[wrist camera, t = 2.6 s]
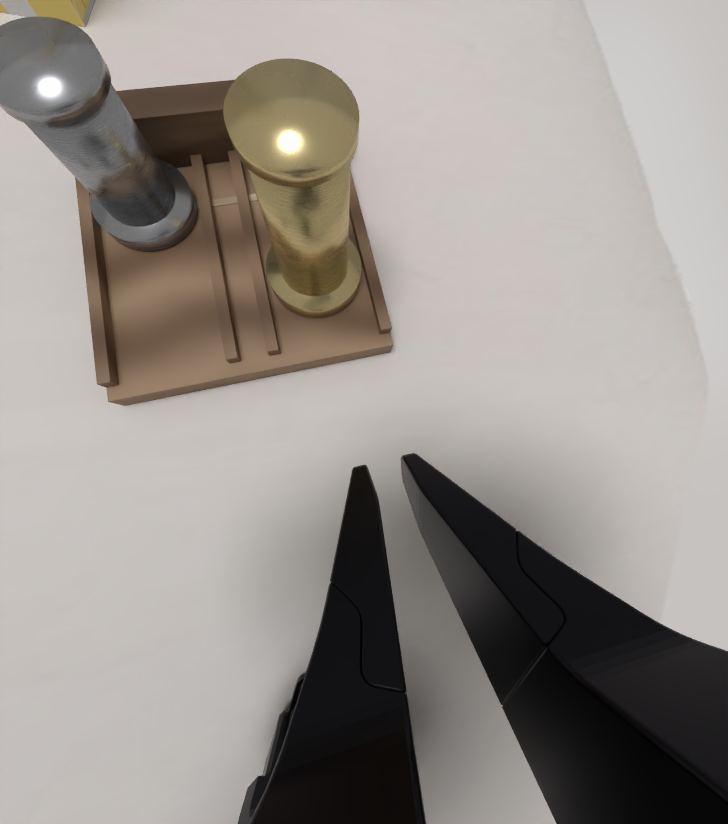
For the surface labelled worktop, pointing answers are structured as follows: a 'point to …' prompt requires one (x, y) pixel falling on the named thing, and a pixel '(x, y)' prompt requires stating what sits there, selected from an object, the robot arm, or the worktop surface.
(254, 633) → the worktop surface
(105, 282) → the walnut mount
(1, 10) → the pasta box
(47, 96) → the pewter knob
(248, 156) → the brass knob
